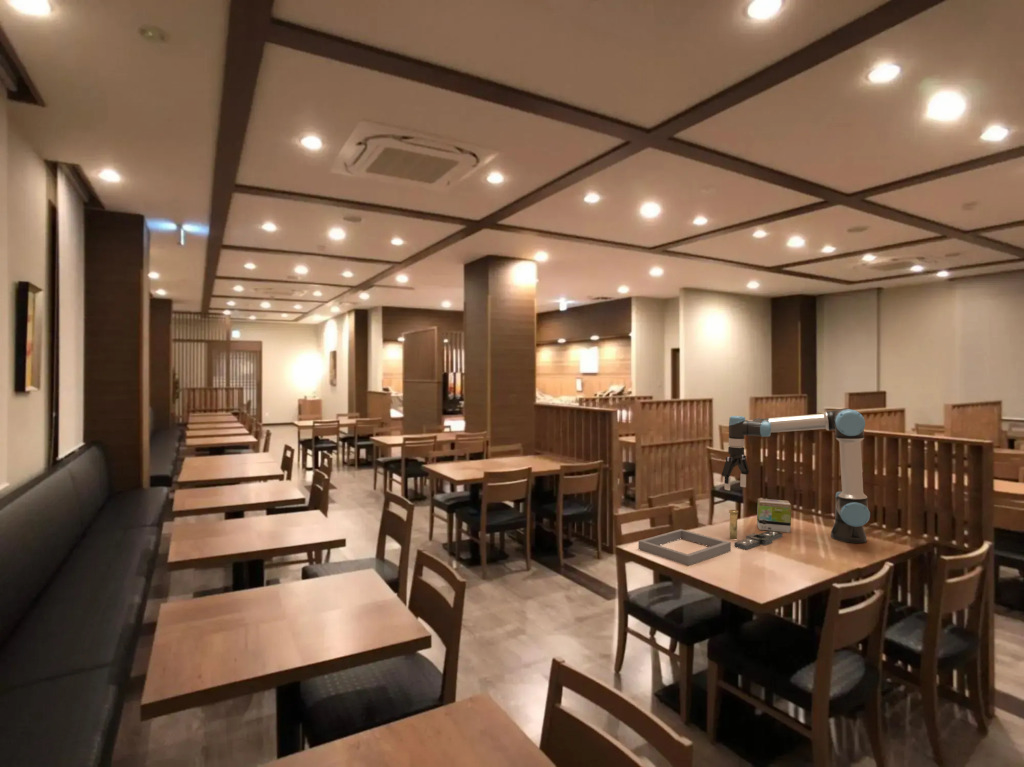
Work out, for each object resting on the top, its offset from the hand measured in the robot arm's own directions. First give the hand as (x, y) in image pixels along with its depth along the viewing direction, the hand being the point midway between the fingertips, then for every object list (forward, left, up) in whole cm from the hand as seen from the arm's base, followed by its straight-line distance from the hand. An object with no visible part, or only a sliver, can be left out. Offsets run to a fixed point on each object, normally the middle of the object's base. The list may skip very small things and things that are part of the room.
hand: (735, 488), depth 285 cm
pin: (-5, +9, -23) cm, 25 cm away
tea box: (-8, -24, -23) cm, 34 cm away
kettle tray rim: (-1, +43, -23) cm, 49 cm away
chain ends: (-15, +3, -23) cm, 28 cm away
